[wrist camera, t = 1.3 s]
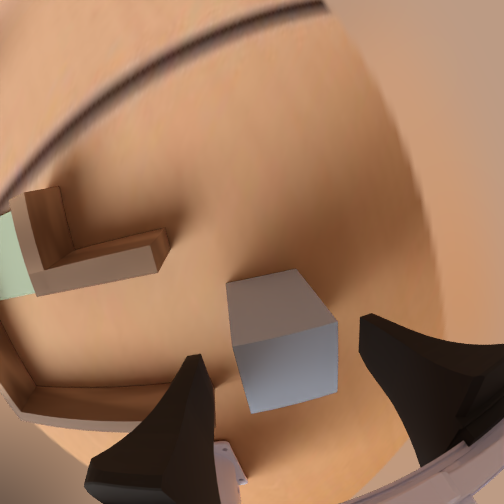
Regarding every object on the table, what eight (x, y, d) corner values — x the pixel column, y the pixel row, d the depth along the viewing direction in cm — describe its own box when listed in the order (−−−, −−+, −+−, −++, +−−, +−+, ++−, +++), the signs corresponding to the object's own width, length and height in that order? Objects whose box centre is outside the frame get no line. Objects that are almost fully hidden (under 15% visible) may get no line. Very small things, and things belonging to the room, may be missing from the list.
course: (214, 389, 17) (215, 427, 14) (35, 395, 16) (20, 420, 13) (150, 156, 13) (129, 152, 10) (-37, 233, 12) (-66, 245, 8)
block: (302, 327, 17) (337, 391, 11) (239, 341, 16) (251, 413, 11) (295, 268, 16) (337, 321, 10) (225, 283, 15) (232, 346, 10)
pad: (58, 286, 14) (56, 288, 14) (-2, 299, 14) (-4, 301, 13) (34, 201, 12) (31, 201, 12) (-24, 229, 12) (-27, 230, 12)
